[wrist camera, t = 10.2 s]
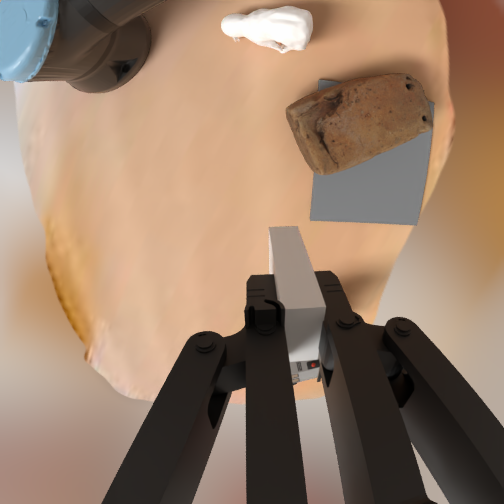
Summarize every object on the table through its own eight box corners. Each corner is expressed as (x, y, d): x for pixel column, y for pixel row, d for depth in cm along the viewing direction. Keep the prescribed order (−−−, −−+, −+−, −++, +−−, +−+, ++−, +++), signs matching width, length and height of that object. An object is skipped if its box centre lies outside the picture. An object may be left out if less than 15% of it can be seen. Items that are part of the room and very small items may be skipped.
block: (310, 173, 42) (417, 128, 38) (322, 184, 35) (443, 132, 32) (278, 107, 38) (392, 66, 34) (284, 105, 31) (417, 59, 27)
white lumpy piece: (311, 46, 27) (209, 35, 27) (305, 59, 34) (222, 48, 35) (317, 3, 24) (217, -7, 24) (311, 22, 31) (228, 13, 32)
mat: (318, 79, 36) (319, 79, 36) (432, 102, 36) (434, 102, 36) (309, 219, 46) (310, 220, 46) (415, 224, 47) (416, 225, 46)
